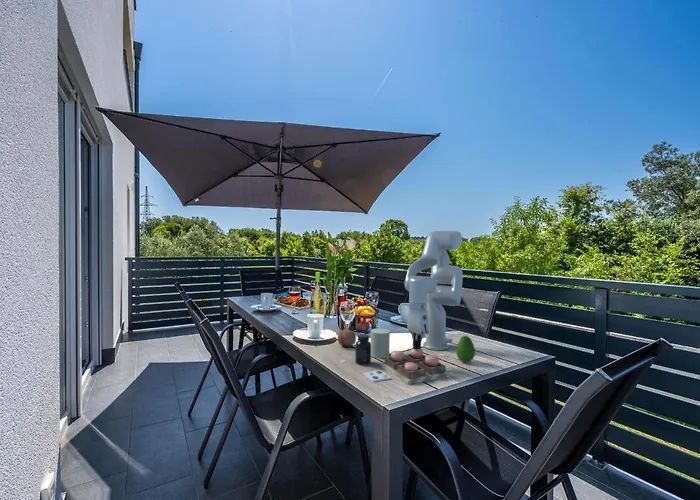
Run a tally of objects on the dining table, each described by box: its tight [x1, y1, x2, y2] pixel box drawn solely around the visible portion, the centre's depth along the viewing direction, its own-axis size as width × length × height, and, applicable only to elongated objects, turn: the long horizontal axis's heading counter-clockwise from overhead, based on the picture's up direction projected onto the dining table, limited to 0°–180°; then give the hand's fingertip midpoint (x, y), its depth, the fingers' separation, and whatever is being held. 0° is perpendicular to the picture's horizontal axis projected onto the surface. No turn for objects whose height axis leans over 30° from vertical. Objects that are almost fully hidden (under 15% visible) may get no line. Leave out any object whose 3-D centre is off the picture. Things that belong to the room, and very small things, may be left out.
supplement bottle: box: [354, 333, 372, 366], centre depth 149 cm, size 7×7×12 cm
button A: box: [410, 347, 424, 358], centre depth 147 cm, size 5×5×3 cm
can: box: [370, 327, 391, 359], centre depth 160 cm, size 9×9×12 cm
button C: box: [390, 350, 405, 361], centre depth 143 cm, size 5×5×3 cm
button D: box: [405, 362, 418, 371], centre depth 134 cm, size 5×5×3 cm
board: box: [380, 353, 450, 385], centre depth 140 cm, size 20×20×4 cm
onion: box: [337, 327, 357, 348], centre depth 172 cm, size 10×9×10 cm
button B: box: [425, 354, 439, 366], centre depth 138 cm, size 5×5×3 cm
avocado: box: [455, 335, 476, 364], centre depth 152 cm, size 8×8×12 cm
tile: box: [363, 369, 392, 383], centre depth 134 cm, size 8×8×1 cm
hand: (416, 348), depth 147 cm, fingers closed
